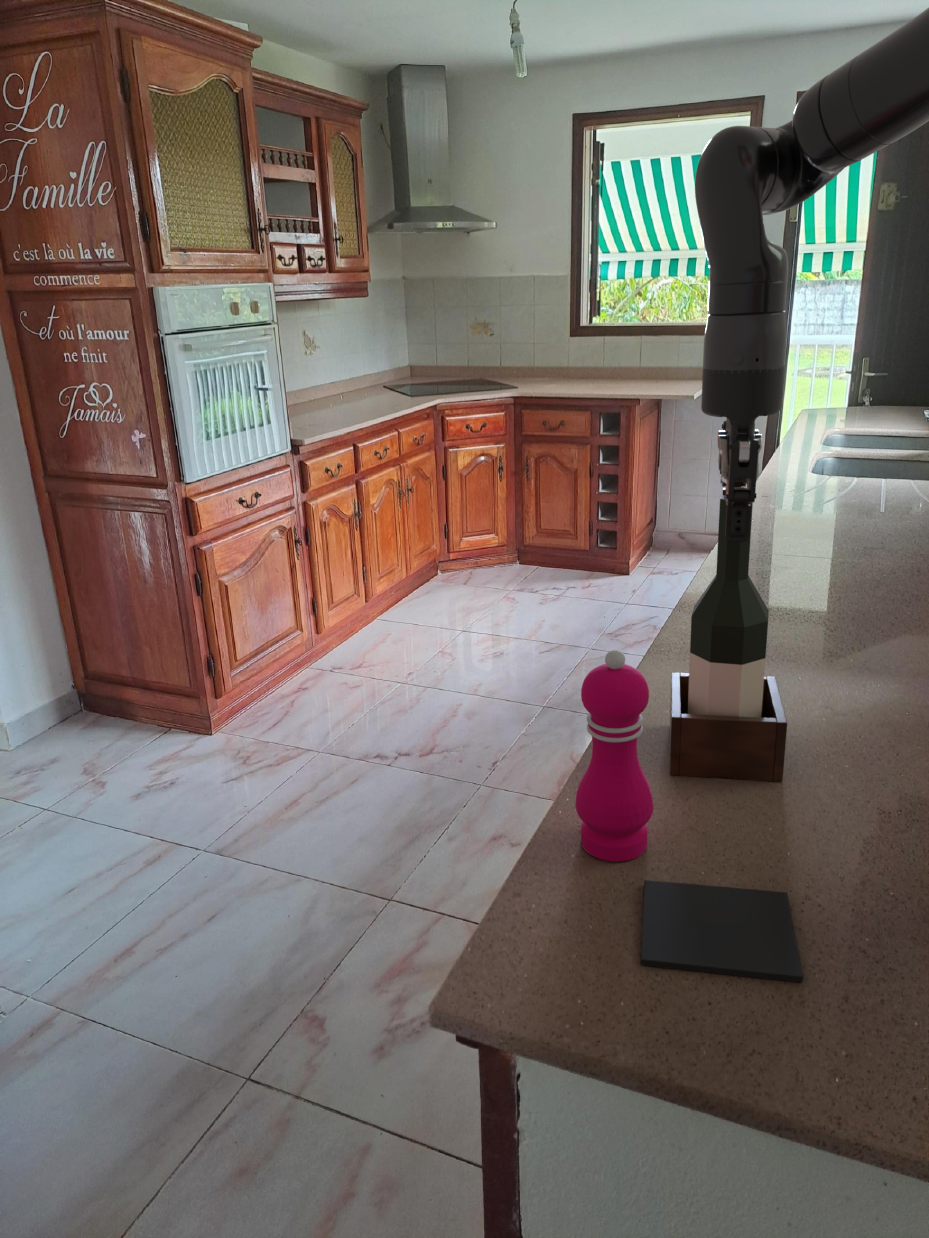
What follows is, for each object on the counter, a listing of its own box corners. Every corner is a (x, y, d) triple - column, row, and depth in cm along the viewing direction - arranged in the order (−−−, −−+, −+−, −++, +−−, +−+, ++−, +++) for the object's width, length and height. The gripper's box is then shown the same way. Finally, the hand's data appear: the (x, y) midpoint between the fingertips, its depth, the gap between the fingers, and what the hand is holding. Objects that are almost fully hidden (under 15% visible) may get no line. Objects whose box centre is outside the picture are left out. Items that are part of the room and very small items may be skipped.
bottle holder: (771, 730, 103) (775, 676, 101) (782, 782, 93) (787, 722, 90) (669, 725, 106) (671, 672, 103) (669, 775, 95) (671, 717, 93)
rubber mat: (786, 897, 75) (787, 892, 75) (802, 982, 66) (803, 976, 66) (644, 885, 78) (644, 879, 78) (640, 965, 69) (640, 959, 69)
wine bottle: (745, 731, 103) (761, 478, 93) (773, 767, 95) (794, 495, 85) (675, 737, 103) (684, 483, 92) (697, 773, 95) (709, 501, 84)
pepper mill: (641, 873, 80) (645, 671, 73) (565, 856, 83) (562, 661, 76) (660, 829, 86) (665, 640, 79) (588, 815, 89) (587, 631, 82)
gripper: (794, 368, 77) (780, 552, 83) (776, 355, 90) (765, 514, 96) (705, 371, 79) (698, 551, 84) (700, 358, 92) (694, 514, 97)
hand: (734, 531), depth 90 cm, fingers open, 6 cm apart
